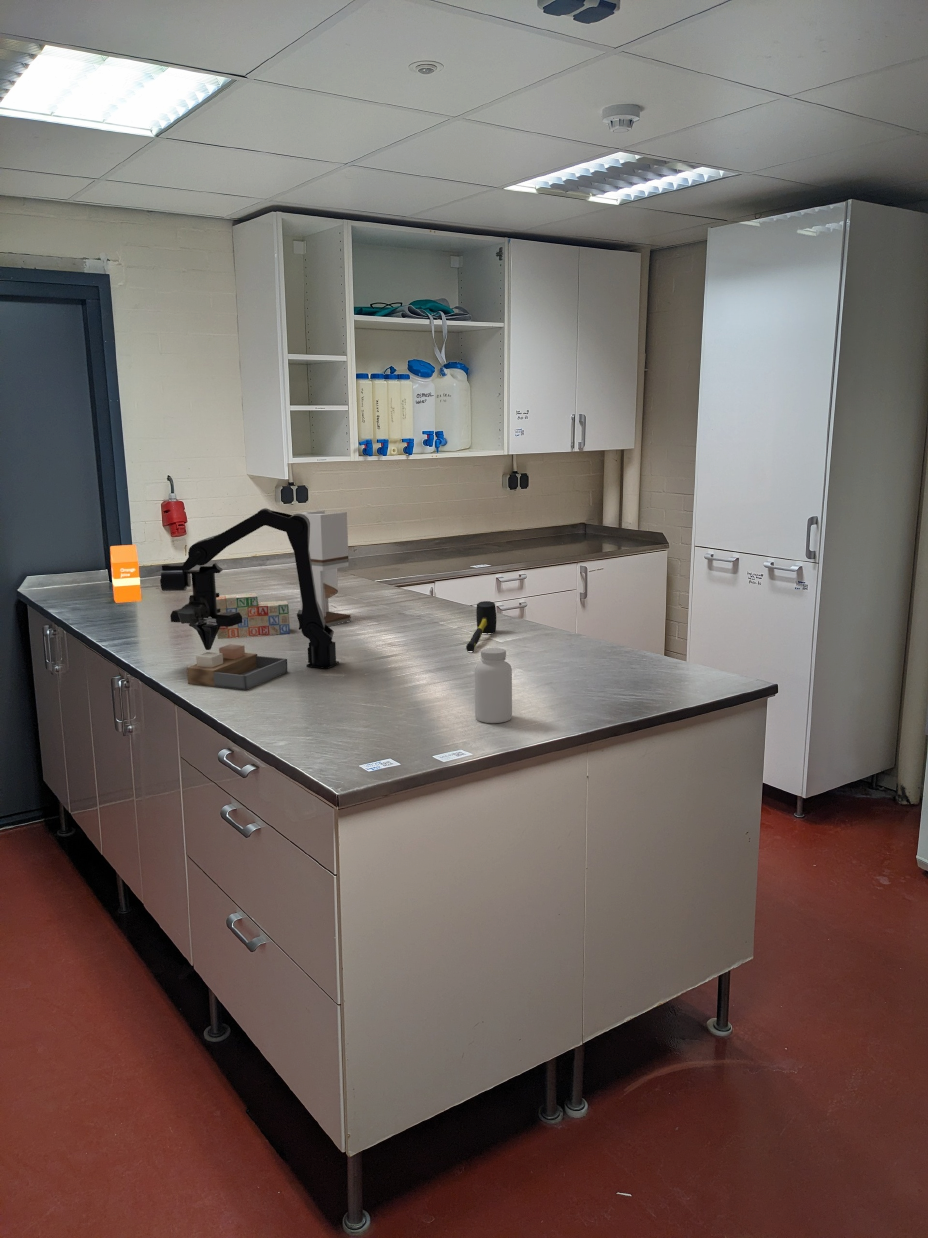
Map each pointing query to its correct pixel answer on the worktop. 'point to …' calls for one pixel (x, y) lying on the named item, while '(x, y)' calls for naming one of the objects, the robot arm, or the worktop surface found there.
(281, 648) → the worktop surface
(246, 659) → the walnut plate
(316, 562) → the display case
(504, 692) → the pill bottle
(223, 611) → the stack of blocks
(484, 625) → the mallet
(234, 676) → the box
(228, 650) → the tile terracotta
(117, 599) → the orange juice
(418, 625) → the worktop surface
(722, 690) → the worktop surface
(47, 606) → the worktop surface
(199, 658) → the tile cream
